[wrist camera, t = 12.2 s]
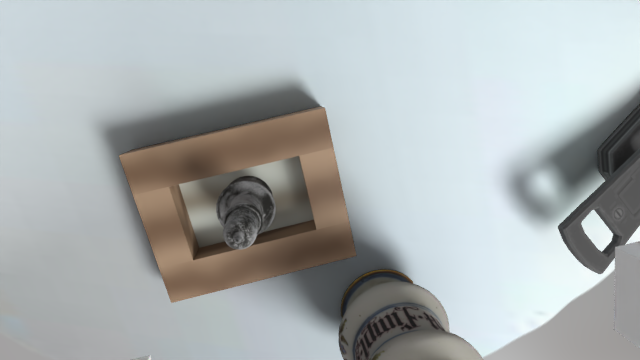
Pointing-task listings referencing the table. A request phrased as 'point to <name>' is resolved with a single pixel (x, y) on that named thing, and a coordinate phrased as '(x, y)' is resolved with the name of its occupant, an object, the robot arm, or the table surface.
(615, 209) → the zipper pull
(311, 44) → the table surface
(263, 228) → the stone chess piece
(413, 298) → the apothecary jar
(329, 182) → the block
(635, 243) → the robot arm
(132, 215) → the table surface
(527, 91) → the table surface
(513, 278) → the table surface
